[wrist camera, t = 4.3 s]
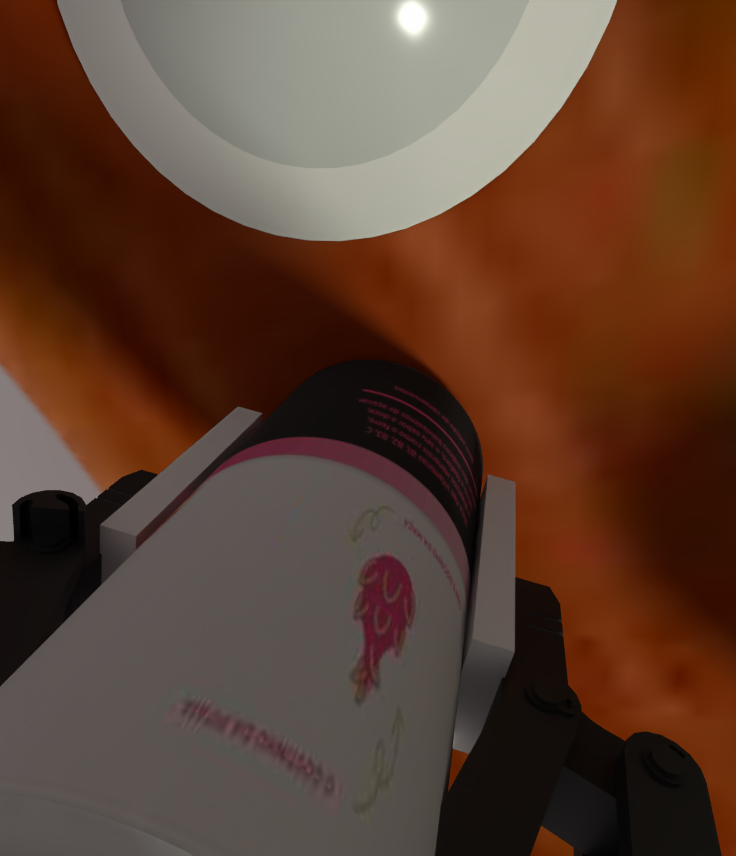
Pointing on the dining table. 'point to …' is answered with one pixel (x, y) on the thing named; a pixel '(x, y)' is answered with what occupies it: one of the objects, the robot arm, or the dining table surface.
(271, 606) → the beverage can
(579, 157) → the dining table surface
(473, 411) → the dining table surface
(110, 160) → the dining table surface
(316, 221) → the plate
